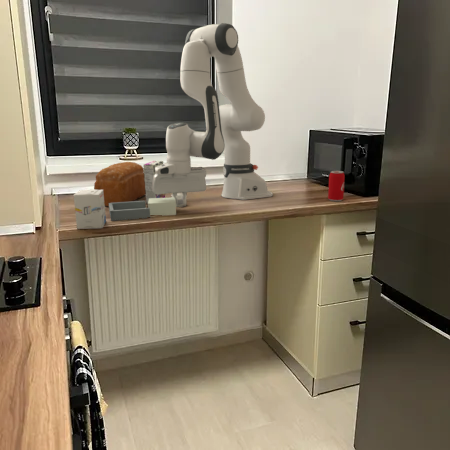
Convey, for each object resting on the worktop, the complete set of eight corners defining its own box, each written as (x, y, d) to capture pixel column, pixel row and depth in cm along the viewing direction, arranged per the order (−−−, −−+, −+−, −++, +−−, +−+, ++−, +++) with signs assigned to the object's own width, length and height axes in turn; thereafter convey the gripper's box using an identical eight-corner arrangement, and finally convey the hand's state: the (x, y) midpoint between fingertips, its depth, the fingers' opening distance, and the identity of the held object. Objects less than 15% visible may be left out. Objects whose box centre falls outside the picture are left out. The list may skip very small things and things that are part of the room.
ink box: (81, 222, 157) (78, 189, 153) (106, 221, 157) (103, 188, 154) (76, 229, 148) (72, 194, 145) (102, 228, 149) (99, 193, 146)
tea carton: (175, 210, 175) (175, 197, 173) (176, 215, 166) (175, 202, 165) (149, 211, 173) (148, 198, 172) (148, 216, 165) (148, 203, 163)
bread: (92, 206, 181) (89, 167, 177) (119, 193, 206) (117, 159, 201) (124, 207, 178) (122, 168, 174) (148, 194, 203) (146, 159, 199)
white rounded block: (184, 203, 185) (184, 192, 184) (187, 206, 179) (187, 195, 178) (170, 204, 183) (169, 193, 182) (172, 207, 178) (172, 196, 177)
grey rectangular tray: (145, 209, 175) (145, 200, 174) (150, 217, 162) (149, 208, 161) (109, 211, 171) (108, 203, 170) (111, 220, 158) (110, 211, 157)
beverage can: (345, 200, 188) (347, 171, 185) (338, 202, 183) (340, 173, 180) (332, 198, 192) (334, 170, 189) (325, 200, 188) (326, 171, 184)
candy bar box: (154, 198, 194) (152, 160, 190) (165, 199, 193) (164, 160, 189) (145, 204, 184) (142, 164, 179) (156, 204, 183) (154, 164, 178)
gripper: (203, 165, 173) (204, 200, 177) (150, 167, 167) (152, 204, 171) (208, 167, 167) (208, 203, 171) (152, 170, 161) (154, 207, 165)
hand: (180, 204), depth 171 cm, fingers closed
